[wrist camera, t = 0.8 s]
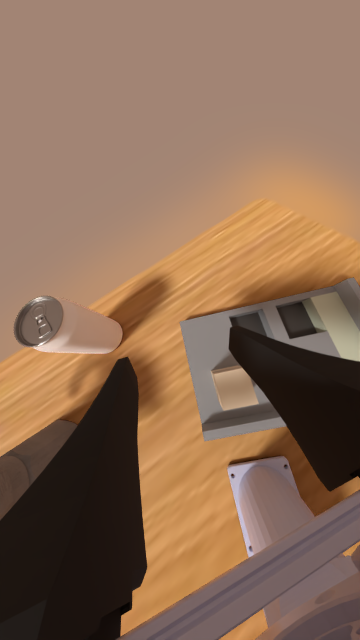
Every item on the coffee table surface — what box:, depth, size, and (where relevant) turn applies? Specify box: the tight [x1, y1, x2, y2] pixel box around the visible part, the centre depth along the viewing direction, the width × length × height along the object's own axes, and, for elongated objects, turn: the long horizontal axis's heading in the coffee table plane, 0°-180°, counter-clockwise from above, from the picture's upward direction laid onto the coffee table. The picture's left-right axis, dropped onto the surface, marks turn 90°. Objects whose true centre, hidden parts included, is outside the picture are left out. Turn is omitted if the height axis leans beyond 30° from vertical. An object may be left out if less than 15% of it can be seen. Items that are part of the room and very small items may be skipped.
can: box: [14, 296, 123, 354], centre depth 20 cm, size 6×6×12 cm
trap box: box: [180, 278, 360, 441], centre depth 20 cm, size 16×26×4 cm, turn 102°
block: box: [211, 365, 259, 411], centre depth 18 cm, size 4×4×4 cm
